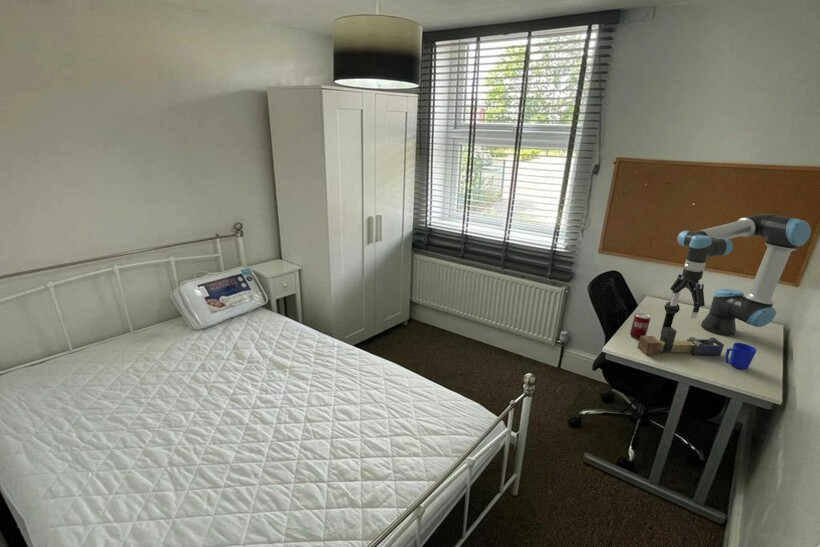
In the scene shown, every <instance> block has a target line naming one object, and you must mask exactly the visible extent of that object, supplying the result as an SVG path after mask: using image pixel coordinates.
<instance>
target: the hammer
mask: <svg viewBox="0 0 820 547" xmlns="http://www.w3.org/2000/svg"><path fill="white" fill-rule="evenodd" d="M662 327H663V326H662ZM661 330H662V329H661ZM676 336H677V330H676V328H675V329H674V328H673V327H672V326H671V327H663V330H662V334H661V333H660V338H659V341H660V342H661V343H662V346H661V349H660V352H670V353H671V352H677V353H678V352H679V353H681V352H682V353H683V352H684V353H685V352H686V353H689V352H693V350H694V347H695V345H697V344H695V343H694V342H693V341H687V340H676Z"/></svg>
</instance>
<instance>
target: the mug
mask: <svg viewBox="0 0 820 547" xmlns="http://www.w3.org/2000/svg"><path fill="white" fill-rule="evenodd" d="M725 351H726V352H725V356H724V361H725V363H726V364H728V365H730V366H732V367H734V368H735V369H739V370H747V369H748V368H750V365H751V364H752V361H753V359H754V357H755V354H756V353H757V349H756V347H754V346H752V345H749V344H746V343H742V342H735V343H733V346H732V347H730V348H726V350H725ZM729 355H730V356H729ZM729 357H730V359H729Z"/></svg>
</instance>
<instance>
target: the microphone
mask: <svg viewBox="0 0 820 547" xmlns="http://www.w3.org/2000/svg"><path fill="white" fill-rule="evenodd" d="M680 310H681V308H680V305H679V304H678V303H677V306H671V301H668V302H666V303H665V304H664V311H665V317H664V320H663V323H662V328H661V332H660V335H661V334H662V330H663V327H672V325H673V321H674V318H675V315H676V314H677V313H678V312H680Z"/></svg>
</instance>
